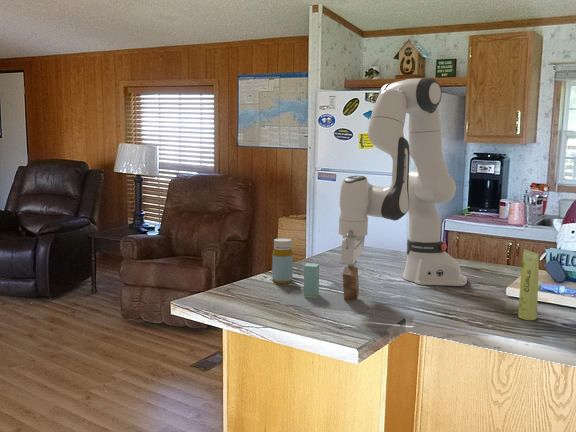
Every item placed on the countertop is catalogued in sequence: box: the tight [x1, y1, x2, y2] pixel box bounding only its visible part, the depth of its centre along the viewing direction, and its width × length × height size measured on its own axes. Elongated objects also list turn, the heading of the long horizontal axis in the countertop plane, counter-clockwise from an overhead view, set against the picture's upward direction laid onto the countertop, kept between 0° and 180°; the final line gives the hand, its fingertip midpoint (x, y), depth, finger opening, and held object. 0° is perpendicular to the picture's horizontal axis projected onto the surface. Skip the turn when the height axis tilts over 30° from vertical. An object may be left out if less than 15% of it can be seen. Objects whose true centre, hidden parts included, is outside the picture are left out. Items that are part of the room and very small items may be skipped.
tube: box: [517, 248, 540, 321], centre depth 164 cm, size 6×5×20 cm
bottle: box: [271, 237, 294, 284], centre depth 201 cm, size 7×7×15 cm
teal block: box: [303, 262, 320, 298], centre depth 184 cm, size 4×4×10 cm
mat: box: [279, 290, 373, 313], centre depth 179 cm, size 26×16×1 cm, turn 74°
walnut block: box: [342, 266, 360, 301], centre depth 178 cm, size 4×4×10 cm
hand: (351, 272), depth 180 cm, fingers closed
